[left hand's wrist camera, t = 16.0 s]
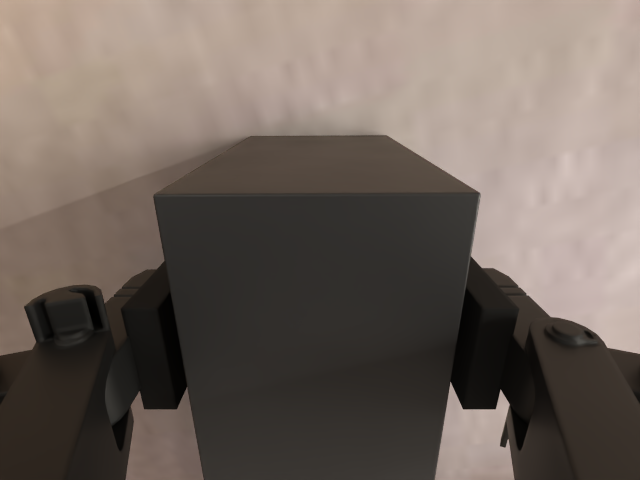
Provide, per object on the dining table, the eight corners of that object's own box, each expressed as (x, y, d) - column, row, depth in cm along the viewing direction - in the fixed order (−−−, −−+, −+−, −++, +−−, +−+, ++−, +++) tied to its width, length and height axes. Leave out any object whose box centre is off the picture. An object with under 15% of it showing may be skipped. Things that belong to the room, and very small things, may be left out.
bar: (250, 136, 15) (151, 194, 6) (387, 135, 15) (481, 193, 6) (277, 512, 23) (252, 756, 15) (364, 512, 23) (390, 756, 15)
